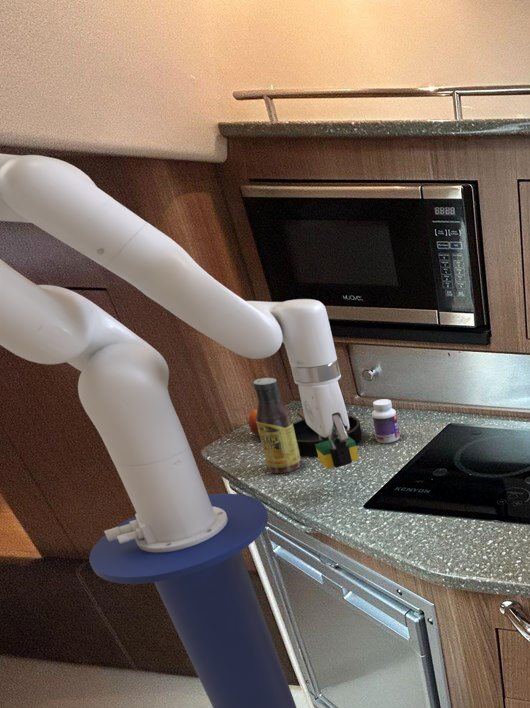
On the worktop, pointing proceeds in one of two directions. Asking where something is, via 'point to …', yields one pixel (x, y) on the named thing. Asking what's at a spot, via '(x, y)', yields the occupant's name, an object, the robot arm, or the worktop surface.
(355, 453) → the sponge
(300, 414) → the pan
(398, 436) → the pill bottle
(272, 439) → the sauce bottle
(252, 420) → the fruit
